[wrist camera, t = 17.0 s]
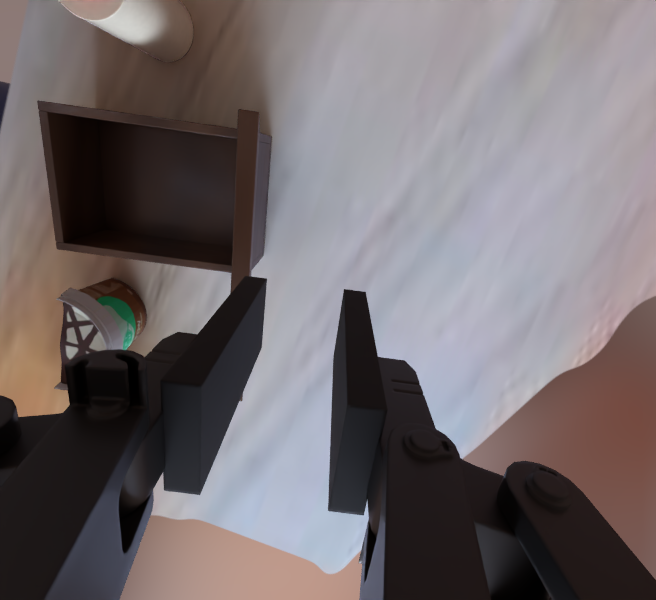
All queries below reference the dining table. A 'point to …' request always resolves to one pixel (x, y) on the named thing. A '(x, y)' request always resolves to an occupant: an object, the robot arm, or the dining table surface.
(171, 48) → the bottle
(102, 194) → the open box
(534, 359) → the dining table surface
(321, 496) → the dining table surface
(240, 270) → the lid
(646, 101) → the dining table surface
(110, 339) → the food container
